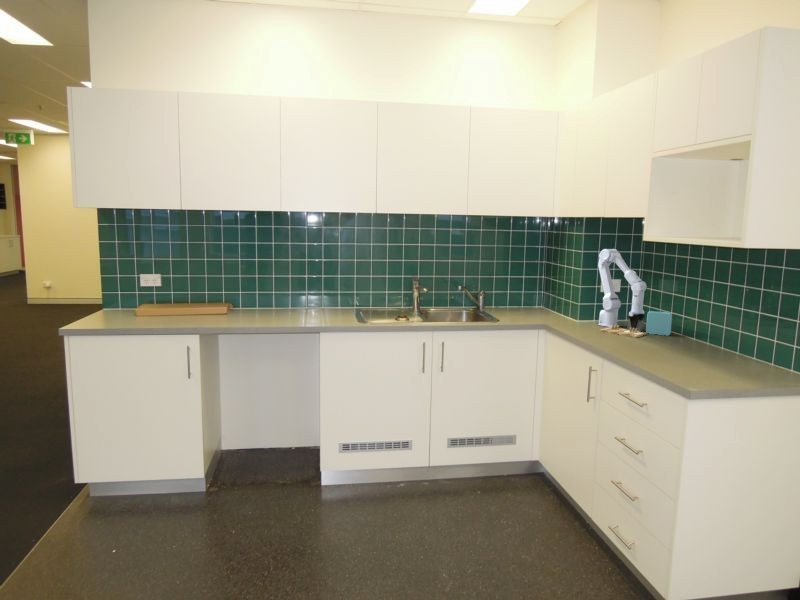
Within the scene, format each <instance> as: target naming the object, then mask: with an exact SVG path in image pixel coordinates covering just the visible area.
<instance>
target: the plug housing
mask: <svg viewBox="0 0 800 600" xmlns="http://www.w3.org/2000/svg"><path fill="white" fill-rule="evenodd" d="M644 325H645V321H644V319H642V320H638V321H637V326H636V328H637V331H640V332H641V331H642V332H644ZM630 327H631V322H630V319H629V318H628V319H627V328H626V329H628V330H630ZM636 328H635V329H636ZM635 329H634V331H635ZM632 330H633V328H632Z"/></svg>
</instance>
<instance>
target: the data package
mask: <svg viewBox="0 0 800 600" xmlns="http://www.w3.org/2000/svg"><path fill="white" fill-rule="evenodd" d="M672 322H673V314H672V313H671V312H666V311H656V310H655V311H654V310H649V311H647V314H646V324H645V325H646V326H645V333H649V334H648V335H654V334H658V335H657V336H664V335H666V336H665V337H667V336H670V335H671V331H672Z"/></svg>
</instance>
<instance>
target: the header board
mask: <svg viewBox="0 0 800 600" xmlns="http://www.w3.org/2000/svg"><path fill="white" fill-rule="evenodd" d="M616 326H617V327H616ZM634 329H635V328H633V330H632V328H631V327H630V330H628V329H627V328H622V327H620V326H619V324H617V325H615V327H614V325H613V324H612V327H604V328H600V329H599V332H601V331H603V333H607V332H608V333H607V334H612V333H614V334H613V335H618V334H619V336H623V335H625V336H624V337H629V336H630V338H635V337H637V338H640V337H643V335H644V336H647V335H648V334H647V333H646V331H642V332H640V331H637V328H636V329H635V331H634ZM646 334H647V335H646Z"/></svg>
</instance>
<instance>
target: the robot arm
mask: <svg viewBox="0 0 800 600" xmlns="http://www.w3.org/2000/svg"><path fill="white" fill-rule="evenodd" d="M598 257H599V259H598V263H597V264H598V270H599V276H600V280H601V284H602V289H603V294H604V296H603V297H602V308H603V309H601V310H600V311H599V316H598V317H599V318H598V324H597V325H598V326H602V327H606V328H608V327H612V324H613V325H614V327H615V325H619V324H618V318H619V309H620V308H621V306H622V301H621V299H619V296H618V294H616V293H615V288H614V283H613V279H612V276H611V275H612V274H611V270H610V265H612V263H614V264H616V265H617V266H618V268H619V269H620V270H621V271H622V272H623V274H624V275H623V276H624V278H625V280H626V281H627V282H628V283H629V285H630V289H631V291H632V297H631V298H632V299H631V310H630V311H629V312H628V316H627V317H628V319H630V322H631V328H636V326H637V321H638V320H644V318H645V316H646V315H645V310H644V299H645V291H646V290H647V282H645V281H643V280H642V279H641V278H640V277H639V276H638V274H637V272H636V271H634V270H633V269H632V270H631V269H630V268H629V266H628V265H627V264H626V262H625V260H624V259H623V257H622V255H621V253H620V252H619V250H618V249H615V248H603V249H602V250H601V251H600V252H599V254H598ZM620 326H621V325H619V327H620ZM616 328H617V326H616Z"/></svg>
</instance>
